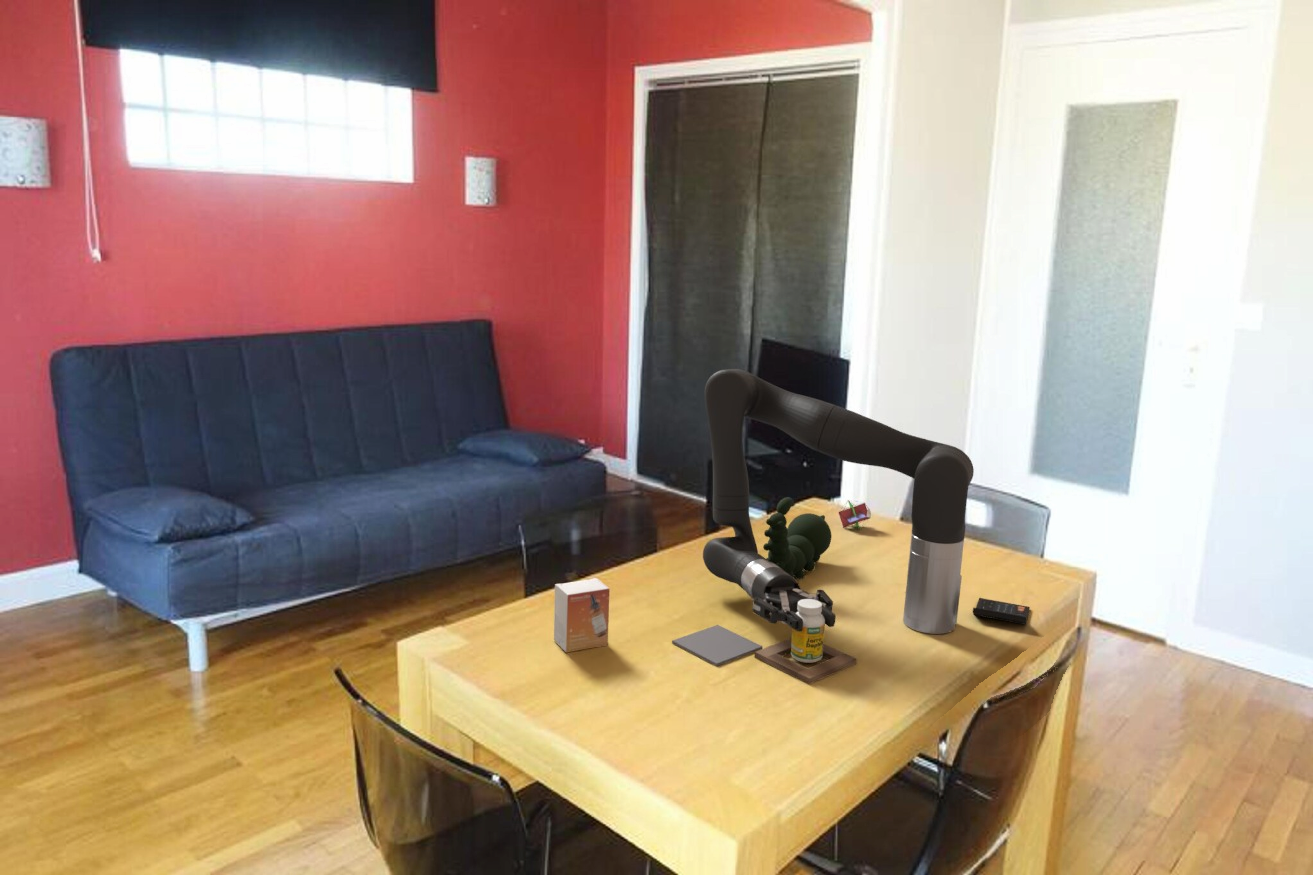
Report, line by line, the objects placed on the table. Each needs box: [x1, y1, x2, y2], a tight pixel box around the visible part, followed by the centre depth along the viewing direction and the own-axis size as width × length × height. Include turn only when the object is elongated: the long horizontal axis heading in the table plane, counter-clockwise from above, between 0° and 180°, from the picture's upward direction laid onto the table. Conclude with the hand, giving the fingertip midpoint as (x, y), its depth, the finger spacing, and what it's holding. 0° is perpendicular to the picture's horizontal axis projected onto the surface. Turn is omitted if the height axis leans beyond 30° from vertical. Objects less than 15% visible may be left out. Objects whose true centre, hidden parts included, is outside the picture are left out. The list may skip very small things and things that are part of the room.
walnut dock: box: [754, 637, 857, 685], centre depth 167 cm, size 12×12×1 cm
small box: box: [553, 577, 610, 653], centre depth 169 cm, size 8×6×10 cm
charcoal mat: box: [671, 624, 763, 667], centre depth 171 cm, size 11×11×1 cm
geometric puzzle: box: [837, 499, 872, 531], centre depth 236 cm, size 7×7×8 cm
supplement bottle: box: [790, 599, 826, 664], centre depth 165 cm, size 5×5×10 cm
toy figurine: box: [762, 496, 832, 580], centre depth 206 cm, size 9×19×25 cm
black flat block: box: [972, 597, 1031, 625], centre depth 188 cm, size 9×12×3 cm
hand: (816, 623), depth 163 cm, fingers closed on supplement bottle, 5 cm apart
